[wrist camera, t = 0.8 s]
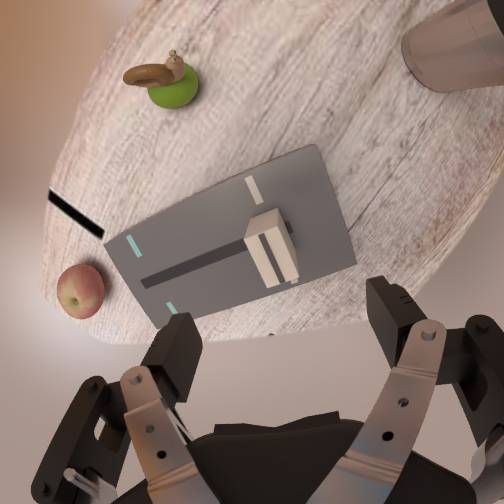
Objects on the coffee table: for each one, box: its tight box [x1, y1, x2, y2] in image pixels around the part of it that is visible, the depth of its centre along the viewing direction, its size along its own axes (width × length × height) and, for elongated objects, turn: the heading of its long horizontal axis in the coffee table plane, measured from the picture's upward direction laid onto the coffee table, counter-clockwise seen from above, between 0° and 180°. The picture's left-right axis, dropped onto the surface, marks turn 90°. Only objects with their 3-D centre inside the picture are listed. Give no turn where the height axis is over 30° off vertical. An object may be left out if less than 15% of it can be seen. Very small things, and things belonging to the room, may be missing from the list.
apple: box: [57, 264, 105, 319], centre depth 34 cm, size 8×8×8 cm
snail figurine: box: [123, 50, 198, 109], centre depth 20 cm, size 5×6×12 cm
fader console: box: [104, 144, 357, 329], centre depth 32 cm, size 28×14×3 cm, turn 114°
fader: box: [244, 208, 299, 288], centre depth 26 cm, size 3×5×6 cm, turn 24°
